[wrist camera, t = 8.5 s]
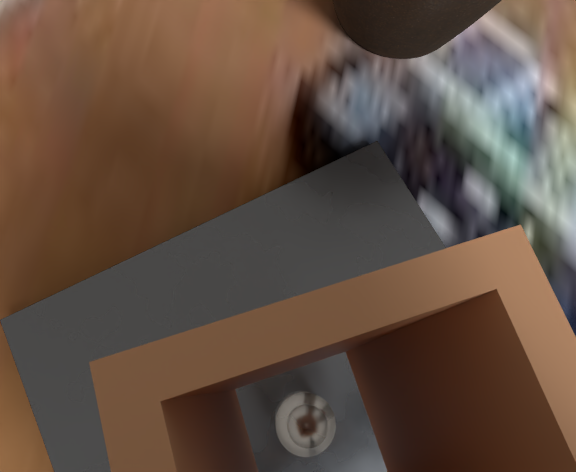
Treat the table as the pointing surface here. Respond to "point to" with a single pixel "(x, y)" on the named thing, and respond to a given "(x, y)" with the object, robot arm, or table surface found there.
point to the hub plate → (231, 314)
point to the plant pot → (408, 23)
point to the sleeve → (370, 369)
